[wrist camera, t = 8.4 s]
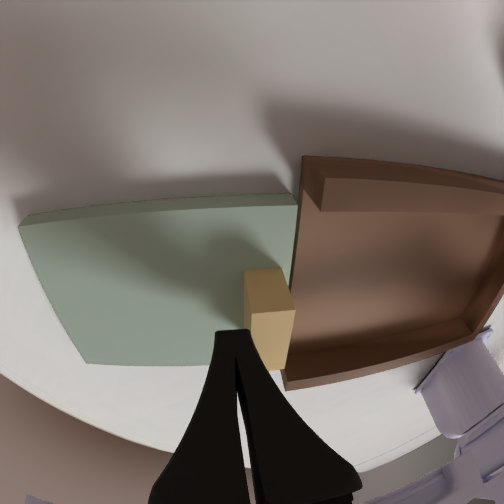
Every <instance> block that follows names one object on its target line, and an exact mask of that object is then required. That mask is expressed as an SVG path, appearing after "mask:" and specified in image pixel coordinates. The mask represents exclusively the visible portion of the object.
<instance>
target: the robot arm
mask: <svg viewBox="0 0 504 504" xmlns="http://www.w3.org/2000/svg"><path fill="white" fill-rule="evenodd" d="M492 333H493V330H492V329H489V330H486V331H484V332H482V333H479V334H478V335H477V336H476V338H475V339H474V340H473V341H471V342H468V343H466V344H463V345H461V346H458V347H456V348H453V349H450V350H448V351H446V353H445V354H444V355H443V357H442V358H441V359H440V361H439V362H438V363H437V365H436V366H435V367H434V369H433V370H432V371H431V372H430V374H429V375H428V376H427V377H426V378H425V380H424V381H423V382H422V383H421V384H420V386H419V387H418V388H417V389H416V390H415V394H419V393H421V394H422V396H423V398H424V400H425V402H426V404H427V406H428V409H429V411H430V413H431V415H432V417H433V420H434V422H435V424H436V426H437V428H438V430H439V431H440V432H441V433H442V434H443V435H444V436H446V437H448V438H458V437H460V438H459V439H457V440H458V444H457V446H456V450H455V453H454V460H452V461H450V462H448V463H446V464H444V465H443V466H441V467H439V468H437V469H436V470H434V471H432V472H430V473H428V474H426V475H425V476H424V477H422V478H420V479H418V480H416V481H414V482H411V483H410V484H407V485H405V486H403V487H401V488H398V489H396V490H394V491H391V492H389V493H387V494H384V495H382V496H379V497H377V498H374V499H371V500H369V501H366V502H363V503H360V504H466V503H468V502H469V501H470V500H471V499H473V498H482V499H491V500H495V503H496V504H504V469H503V470H501V471H500V472H498V473H496V474H494V475H491V476H490V474H492V473H493V472H495V471H497V470H498V469H500V468H501V467H503V466H504V375H503V373H502V371H501V370H500V368H499V366H498V365H497V363H496V362H495V360H494V358H493V357H492V355H491V354H490V352H489V351H488V349H487V347H486V346H485V342H486V341H487V340H488V338H489V337H490V335H491V334H492ZM237 393H238V398H239V402H240V407H241V411H242V416H243V420H244V424H245V429H246V435H247V442H248V449H249V457H250V464H251V471H252V478H253V486H254V493H255V500H256V504H352V500H353V495H352V493H353V492H355V491H357V490H360V489H361V488H362V482H361V479H360V477H359V475H358V473H357V472H356V470H355V468H354V467H353V466H352V465H351V464H350V463H349V462H348V461H346V460H345V459H344V458H342V457H341V456H340V455H339V454H337V453H336V452H335V451H334V450H333V449H332V448H330V447H329V446H328V445H327V444H326V443H325V442H324V441H323V440H322V439H321V438H320V437H319V436H318V435H317V434H316V433H315V432H314V431H313V430H312V429H311V428H310V427H309V426H308V425H307V424H306V423H305V422H304V421H303V420H302V418H301V417H300V416H299V415H298V414H297V413H296V411H295V410H294V409H293V408H292V406H291V405H290V404H289V402H288V401H287V400H286V398H285V397H284V395H283V394H282V393H281V391H280V390H279V388H278V387H277V385H276V384H275V382H274V380H273V379H272V377H271V375H270V374H269V372H268V370H267V368H266V367H265V365H264V363H263V361H262V359H261V357H260V355H259V353H258V351H257V349H256V347H255V344H254V342H253V339H252V336H251V333H250V330H248V329H234V330H218V331H216V332H215V339H214V347H213V353H212V358H211V363H210V366H209V370H208V374H207V378H206V381H205V384H204V387H203V390H202V393H201V396H200V399H199V402H198V404H197V407H196V409H195V412H194V414H193V416H192V419H191V421H190V423H189V425H188V427H187V430H186V432H185V434H184V436H183V438H182V440H181V442H180V443H179V445H178V447H177V449H176V451H175V452H174V454H173V456H172V457H171V459H170V461H169V463H168V464H167V466H166V467H165V469H164V470H163V472H162V473H161V475H160V476H159V478H158V479H157V481H156V482H155V483H154V485H153V487H152V490H151V493H150V496H149V501H148V504H250V499H249V492H248V486H247V480H246V473H245V467H244V460H243V453H242V447H241V439H240V432H239V425H238V417H237ZM25 498H26V499H25V504H54V503H51V502H47V501H45V500H42V499H40V498H37V497H35V496H32V495H30V494H26V497H25Z"/></svg>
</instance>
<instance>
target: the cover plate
mask: <svg viewBox="0 0 504 504" xmlns="http://www.w3.org/2000/svg"><path fill="white" fill-rule="evenodd" d="M297 209H298V205H297V203H296V201H295V200H294V198H293V197H292V195H291V194H253V195H226V196H206V197H189V198H174V199H161V200H149V201H137V202H127V203H117V204H107V205H98V206H90V207H82V208H74V209H66V210H59V211H52V212H45V213H38V214H32V215H28V216H27V217H26V218H25V219H24V220H23V222H22V223H21V224H20V225H19V226H18V229H19V232H20V235H21V237H22V240H23V243H24V245H25V248H26V250H27V253H28V255H29V258H30V260H31V263H32V265H33V267H34V270H35V272H36V274H37V276H38V278H39V281H40V283H41V285H42V287H43V289H44V291H45V293H46V295H47V297H48V299H49V301H50V303H51V305H52V307H53V309H54V311H55V313H56V314H57V316H58V318H59V320H60V322H61V323H62V325H63V327H64V329H65V330H66V332H67V334H68V335H69V337H70V339H71V340H72V342H73V344H74V345H75V347H76V348H77V350H78V352H79V353H80V355H81V356H82V358H83V359H84V361H85V362H86V363H88V364H102V365H122V366H198V365H210V363H211V358H212V353H213V347H214V339H215V332H216V331H218V330H234V329H248V330H250V333H251V336H252V339H253V342H254V344H255V347H256V349H257V351H258V353H259V355H260V357H261V359H262V361H263V363H264V365H265V367H266V368H267V370H268V371H271V370H280V369H284V368H285V363H286V359H287V354H288V348H289V343H290V338H291V333H292V328H293V322H294V317H295V311H296V309H295V306H294V303H293V300H292V297H291V294H290V291H289V288H288V285H289V278H290V270H291V262H292V254H293V245H294V237H295V228H296V219H297Z"/></svg>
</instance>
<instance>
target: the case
mask: <svg viewBox="0 0 504 504" xmlns="http://www.w3.org/2000/svg"><path fill="white" fill-rule="evenodd" d="M288 288H289V291H290V294H291V297H292V300H293V303H294V306H295V309H296V311H295V317H294V322H293V328H292V333H291V338H290V343H289V348H288V354H287V359H286V363H285V368H284V369H280V371H281V375H282V380H283V384H284V388H285V391H290V390H297V389H303V388H309V387H315V386H321V385H326V384H331V383H336V382H341V381H345V380H350V379H354V378H359V377H363V376H367V375H371V374H375V373H379V372H382V371H386V370H390V369H393V368H397V367H400V366H403V365H407V364H410V363H413V362H416V361H419V360H422V359H425V358H428V357H431V356H434V355H437V354H440V353H442V352H445V351H448V350H450V349H453V348H456V347H458V346H461V345H463V344H466V343H468V342H471V341H473V340H474V339H475V338H476V336H477V335H478V334H479V332H480V331H481V329H482V328H483V326H484V325H485V323H486V322H487V320H488V319H489V317H490V316H491V314H492V313H493V311H494V309H495V308H496V306H497V304H498V303H499V301H500V299H501V298H502V296H503V294H504V181H500V180H496V179H492V178H487V177H482V176H478V175H473V174H467V173H462V172H457V171H451V170H445V169H439V168H433V167H426V166H419V165H411V164H403V163H395V162H386V161H376V160H364V159H352V158H336V157H316V156H303V157H302V169H301V180H300V190H299V200H298V210H297V219H296V228H295V237H294V246H293V254H292V262H291V270H290V278H289V286H288Z"/></svg>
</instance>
